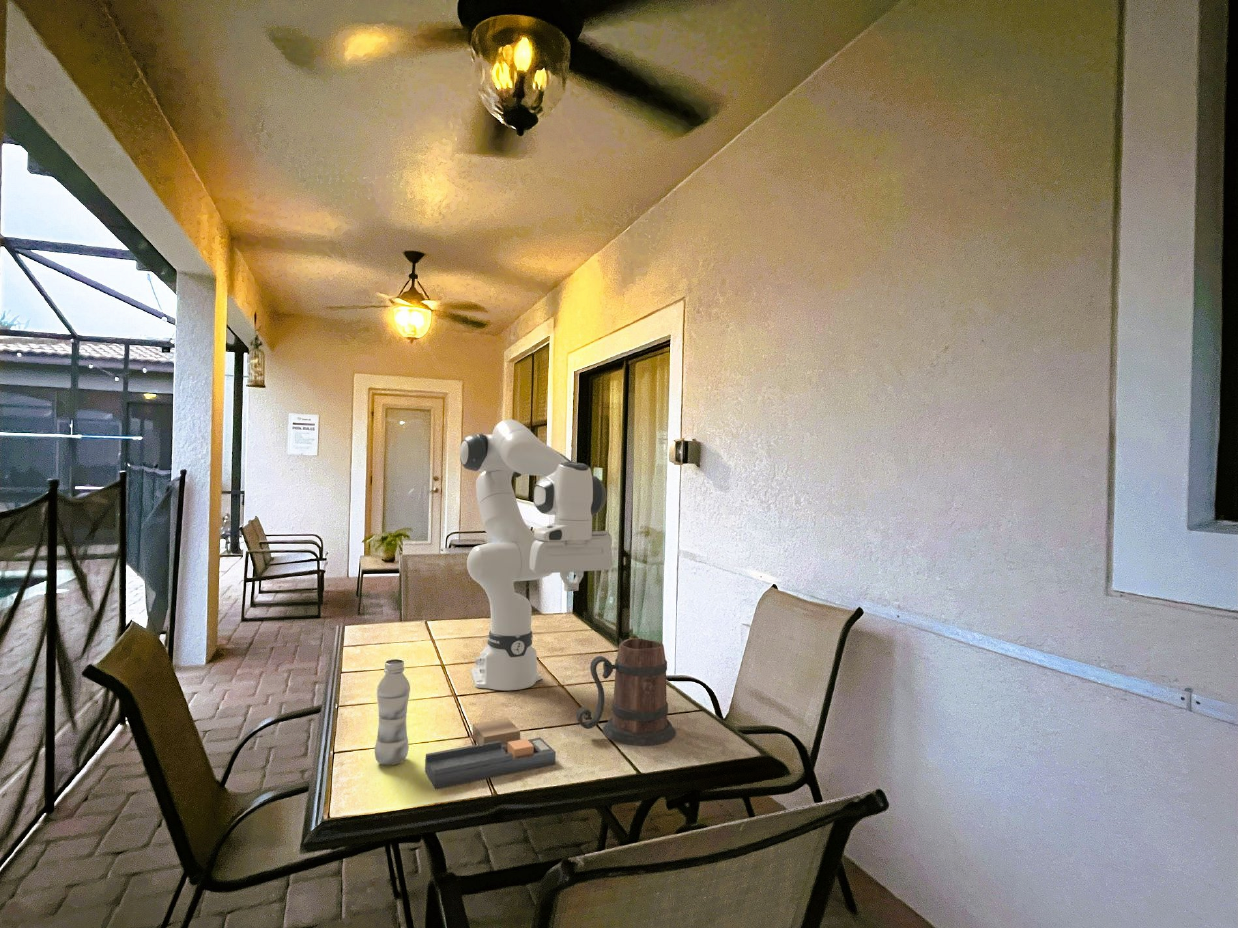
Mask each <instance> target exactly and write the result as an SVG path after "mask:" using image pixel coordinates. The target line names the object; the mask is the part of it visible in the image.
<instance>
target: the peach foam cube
mask: <svg viewBox="0 0 1238 928" xmlns="http://www.w3.org/2000/svg"><path fill="white" fill-rule="evenodd" d="M528 740H529V739H527V738H523V739H520V740H516V741H511V742H508V753H507V754H509V753H512V754H513V757H519V756H524V755H529V754H533V751H534V746H533V745H532V744H531V743H530V742H529V741H528Z"/></svg>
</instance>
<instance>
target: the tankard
mask: <svg viewBox="0 0 1238 928" xmlns="http://www.w3.org/2000/svg"><path fill="white" fill-rule="evenodd" d="M600 663H603V664H602V667H603V668H602V670H603V673H602V678H604V679H605V680H606V679H609V677H610V676H611V675H612V673H614V670H615V675H614V687H613V688H614V689H613V699H612V703H611V711H612V712H611V713H612V714H611V717H610V718H608V720H607V723H605V725H603V727H602V734H603V735H604V736H605V737H606V738H608V740H610V741H613V742H615V743H617V744H621V745H624V746H625V745H626V746H630V747H631V746H632V747H653V746H655V747H656V746H660V745H663V744H667V743H669V742H671V741H673V739H675V737H676V736H677V731H676V730H675V727H673V726H672V725H673V724H672V723H671V721H669V719H668V714H669V713H668V712H669V703H668V700H667V671H668V661H667V659H666V653H665V648H664V644H663V643H662V642H660V641H657V640H651V639H646V638H645V639H644V638H638V637H636V638H628V639H625V640H623V641H621V642H620V643H619V645H618V651H617V655H616V658H615V660H614V664H613V663H612V662H611V661H610V660H609V659H608V658H606V657H605V656H602V655H600V656H599V655H598V656H596V657H594V658H593V659H592V660H591V662H590V666H589V667H590V668H589V669H590V674H591V677H592V679H593V681H594V683H595V685H596V688H597V695H598V696H597V697H598V698H597V705H596V710H595V712H594V714H593V717H592V712H591V710H590V709H589V708H588V707H586V706H584V707H580V708H579V709H578V710H577V711H576V715H575V716H576V721H577V722H578V724H579V725H580V726H581V727H582V728H584V729H587V730H589V729H593V728H595V727H596V726H597V724H599V722H600V721H601V718H602V716H603V712H604V708H605V691H604V690H605V689H604V686H603V684H602V682H601V680H600V678H599V676H598V672H597V671H598V670H597V666H598V665H599V664H600ZM585 714H586V716H584V715H585ZM583 716H584V717H583ZM583 718H584V720H585V721H583Z"/></svg>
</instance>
